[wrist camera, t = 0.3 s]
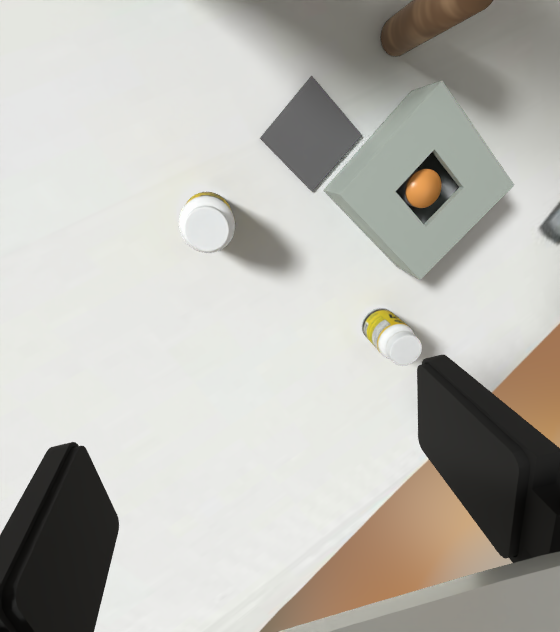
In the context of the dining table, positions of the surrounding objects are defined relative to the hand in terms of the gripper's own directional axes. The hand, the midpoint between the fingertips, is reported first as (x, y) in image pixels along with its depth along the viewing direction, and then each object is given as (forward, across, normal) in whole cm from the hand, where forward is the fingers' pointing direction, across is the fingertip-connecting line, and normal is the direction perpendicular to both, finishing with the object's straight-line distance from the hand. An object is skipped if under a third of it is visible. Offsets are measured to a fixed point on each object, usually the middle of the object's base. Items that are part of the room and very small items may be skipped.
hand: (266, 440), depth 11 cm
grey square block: (+36, -22, -1) cm, 43 cm away
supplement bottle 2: (+36, -18, +16) cm, 44 cm away
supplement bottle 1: (+36, +1, -2) cm, 37 cm away
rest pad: (+36, -12, -8) cm, 39 cm away
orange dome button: (+35, -22, -1) cm, 41 cm away
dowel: (+36, -22, -16) cm, 45 cm away
